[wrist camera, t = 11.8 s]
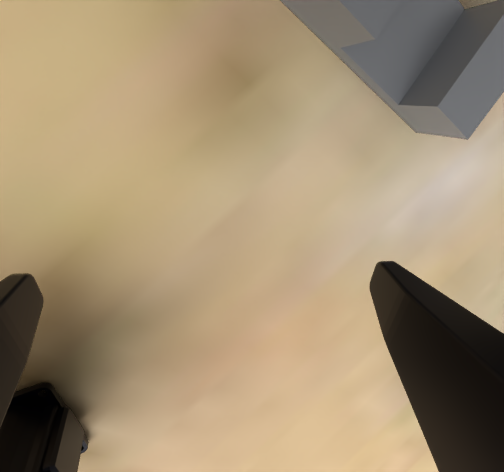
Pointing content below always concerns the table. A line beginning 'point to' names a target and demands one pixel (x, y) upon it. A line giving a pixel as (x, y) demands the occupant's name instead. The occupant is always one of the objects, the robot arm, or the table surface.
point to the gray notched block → (418, 55)
